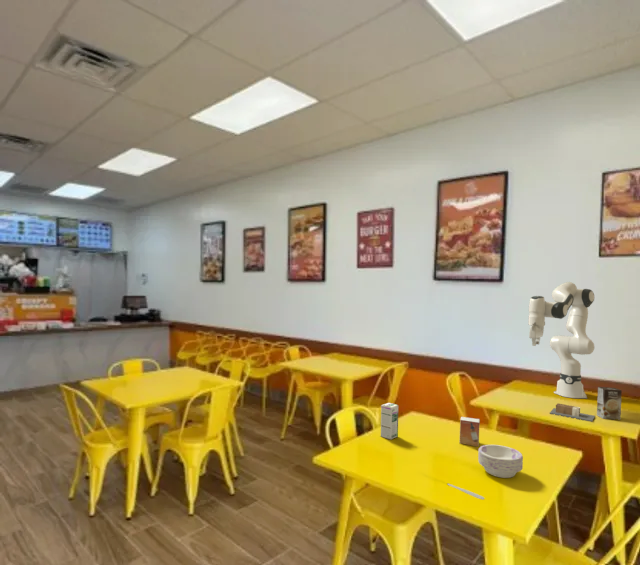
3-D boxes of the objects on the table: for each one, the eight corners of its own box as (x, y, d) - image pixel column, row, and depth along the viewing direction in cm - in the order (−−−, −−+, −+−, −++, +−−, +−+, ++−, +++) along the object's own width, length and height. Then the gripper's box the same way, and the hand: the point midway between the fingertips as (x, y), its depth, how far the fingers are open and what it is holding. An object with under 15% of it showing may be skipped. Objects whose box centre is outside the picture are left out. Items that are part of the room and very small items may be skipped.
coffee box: (603, 418, 227) (603, 389, 227) (596, 415, 234) (597, 386, 234) (621, 420, 226) (621, 390, 227) (614, 416, 233) (614, 387, 233)
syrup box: (391, 440, 186) (392, 407, 186) (380, 436, 190) (381, 404, 190) (398, 436, 190) (399, 404, 190) (387, 433, 194) (388, 402, 194)
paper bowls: (473, 462, 165) (473, 442, 165) (513, 465, 163) (514, 445, 163) (484, 480, 149) (485, 458, 149) (529, 483, 148) (529, 461, 148)
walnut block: (557, 403, 239) (580, 407, 232) (557, 410, 239) (579, 414, 232) (555, 405, 235) (578, 409, 228) (555, 412, 235) (578, 416, 228)
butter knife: (481, 500, 135) (485, 496, 137) (411, 471, 155) (416, 469, 157) (481, 502, 135) (485, 498, 137) (411, 473, 155) (416, 470, 157)
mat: (553, 409, 243) (553, 408, 243) (594, 416, 231) (594, 415, 231) (549, 413, 234) (549, 412, 234) (592, 421, 221) (592, 420, 221)
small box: (459, 443, 184) (460, 419, 184) (460, 439, 189) (460, 416, 189) (478, 446, 181) (479, 422, 181) (478, 442, 186) (479, 418, 186)
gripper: (538, 323, 247) (537, 347, 247) (545, 322, 263) (545, 344, 263) (526, 322, 251) (526, 346, 251) (534, 321, 267) (534, 343, 267)
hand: (535, 345), depth 257 cm, fingers open, 8 cm apart
